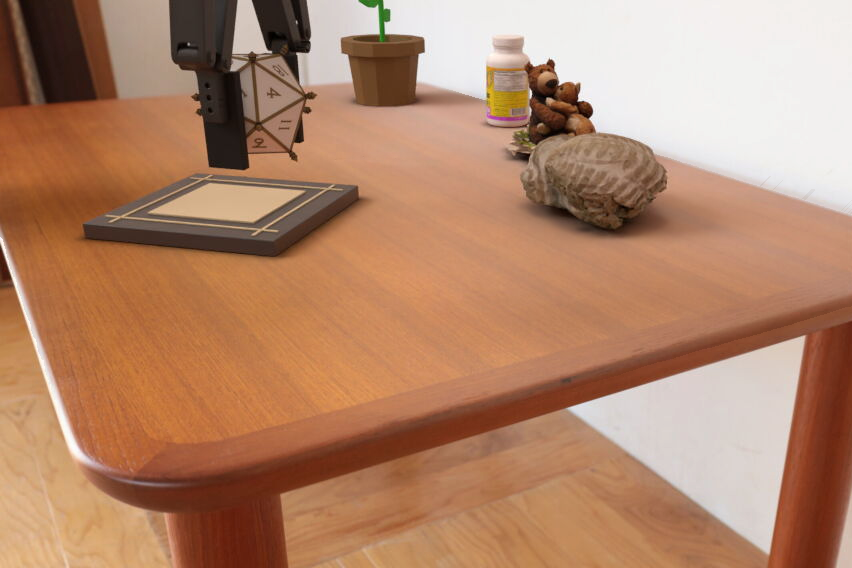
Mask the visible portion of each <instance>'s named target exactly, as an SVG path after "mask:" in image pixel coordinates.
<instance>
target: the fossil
mask: <svg viewBox="0 0 852 568" xmlns="http://www.w3.org/2000/svg"><path fill="white" fill-rule="evenodd" d="M667 173H668V171H667V169H666V167H665V166H664V165H663V164H661V163H660V162H659V161H657V159H656V156H655V154H654V151H653V149H652V148H651V147H650V146H649V145H647V144H645V143H644V142H642V141H640V140H636V139H633V138H631V137H627V136H624V135H623V136H622V135H619V134H614V133H607V132H599V131H598V132H596V133H590V134H583V135H578V136H576V137H573V136H570V135H557V136H553V137H549V138H547V139H545V140H543V141H541V142H539V144H538V145H537V146H536V147H535V149H534V151H533V152H532V154H530V156H529V157H528V164H527V165H526V167H525V168H524V170H523V171H521V172H520V174H519V178H520V182H521V184H522V188H523V190H524V191H525V192H526V195H525V197H527V198H528V199H529V201H531V203H532V204H538V205H543V206H544V205H545V206H550V207H555V208H560V209H563V210H565V211H567V212H568V213H569V214H571V215H573V216H574V217H576V218H577V219H578V220H580V221H582V222H584V223H586V224H590V225H594V226H597V227H600V228H602V229H605V230H611V231H612V230H616V229H618V228H619V227H621V226H623V222H624V223H627V220H630V219H632V218H636V217H637V216H638V215H639V214H640V213H641V214H642V213H643V211H645V210H644V209H645V208H646V207H645V206H646V205H648V204H652V203H653V200H655V199H656V198H657V194H658V193H659V194H662V193H663V192H664V191H666V190H667V188H668V187H667V184H668V179H669V177H668V175H667Z"/></svg>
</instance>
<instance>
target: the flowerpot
mask: <svg viewBox="0 0 852 568" xmlns="http://www.w3.org/2000/svg"><path fill="white" fill-rule="evenodd" d="M358 2H359V3H360V4H362V5H363V6H365V7H367V8H371V9H375V8H378V11H377V12H378V28H379V33H376V34H375V33H371V34H370V33H369V34H356V35H355V34H354V35H349V36H342V37H340V51H341V53H340V54H343V55H347V57H348V58H347V59H348V64H349V69H350V74H351V80H352V85H353V91H354V96H355V102H356V104H359V105H363V106H371V107H397V106H404V105H410V104H413V103H415V102H416V92H417V91H416V90H417V81H418V80H417V79H418V69H419V58H420V57H419V56H420V55H421V54H425V53H426V43H425V41H426V40H425V37H423V36H418V35H412V34H399V33H398V34H397V33H386V23H389V22H391V9H390V8H388V7H387V8H385V5H384V3H385V2H384V0H358Z"/></svg>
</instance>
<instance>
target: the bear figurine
mask: <svg viewBox="0 0 852 568" xmlns="http://www.w3.org/2000/svg"><path fill="white" fill-rule="evenodd" d="M555 67H556V63H555V61H554V60H553V59H551V58H550V57H548V59H547V61H546V63H542V64H538V65H535V66H534V64H533V63H531V60H530V61H529V62H528V63H527V64H526V65H525V66H524V68H525V71H526V72H527V74H528V83H529V88H530V92H531V95H530V100H529V103H530V104H529V105H530V111H531V112H530V116H529V122H528V124H526V128H527V129H526V131H525V129H517V130H514V131H513V135H512V138H511V139H510V142H508V143H505V146H506V148H507V149H508V152H509V153H510V155H511V156H513V157H514V156H516V155H517V153H523V154H529V155H531V154H532V152H533V151H534V149H535V147H536V146H537V145H538V144H539V142H541V141H543V140H545V139H547V138H549V137H553V136H557V135H570V136H573V137H576V136H578V135H583V134H590V133H597V130H596V128H595V125H594V124H593V122H592V121H591V117H592V116H593V114H594V108H593V106H592V104H591V103H589V102H588V101H585V100H579V94H580V93H581V89H582V88H581V87H582V86H581V85H582V83H581V82H580V81H577V82H576V84H575V82H572V81H564V82H563V83H561V84H560V80H559V76H558V74H557V72H556V68H555Z"/></svg>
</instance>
